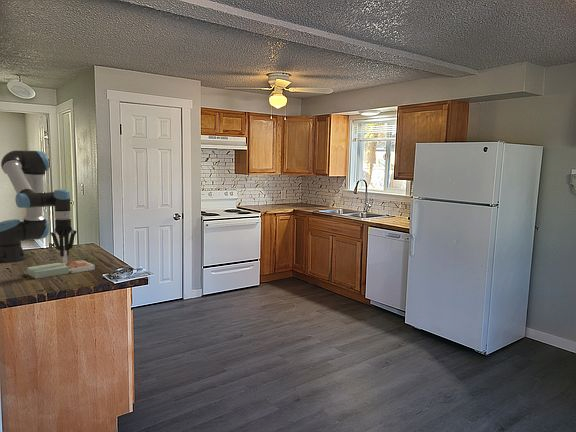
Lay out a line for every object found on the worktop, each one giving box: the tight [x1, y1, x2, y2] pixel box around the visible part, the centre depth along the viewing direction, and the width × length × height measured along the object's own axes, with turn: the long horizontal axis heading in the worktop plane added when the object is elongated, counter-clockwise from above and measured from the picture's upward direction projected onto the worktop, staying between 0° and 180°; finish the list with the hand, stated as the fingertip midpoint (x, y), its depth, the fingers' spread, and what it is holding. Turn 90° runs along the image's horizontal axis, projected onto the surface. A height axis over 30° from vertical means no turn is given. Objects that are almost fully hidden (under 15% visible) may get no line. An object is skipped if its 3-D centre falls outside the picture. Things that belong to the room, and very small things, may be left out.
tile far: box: [74, 260, 86, 268], centre depth 240 cm, size 4×4×3 cm
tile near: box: [66, 258, 77, 269], centre depth 236 cm, size 4×4×3 cm
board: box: [26, 262, 70, 280], centre depth 228 cm, size 13×16×4 cm
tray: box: [60, 259, 96, 275], centre depth 239 cm, size 16×13×2 cm
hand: (64, 262), depth 234 cm, fingers closed
